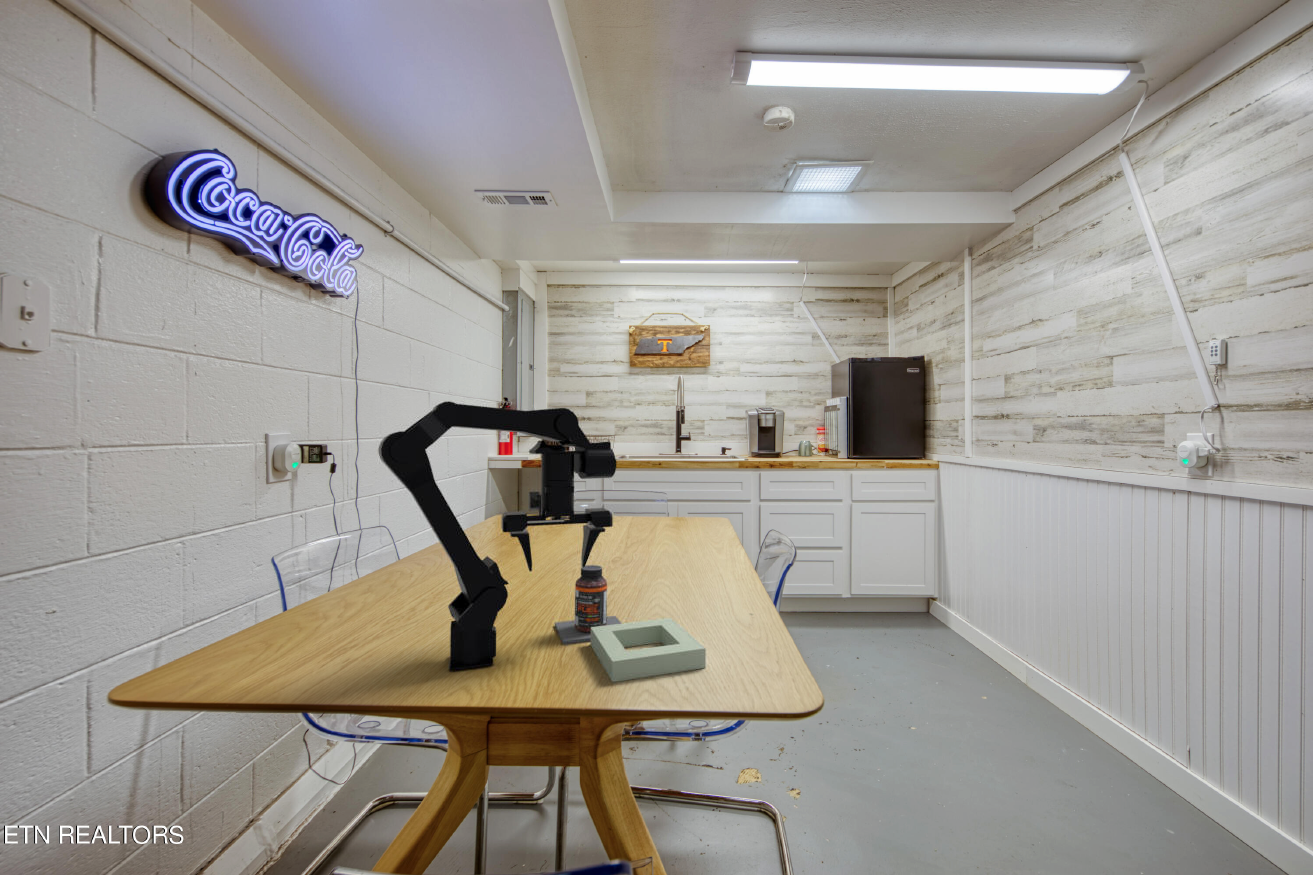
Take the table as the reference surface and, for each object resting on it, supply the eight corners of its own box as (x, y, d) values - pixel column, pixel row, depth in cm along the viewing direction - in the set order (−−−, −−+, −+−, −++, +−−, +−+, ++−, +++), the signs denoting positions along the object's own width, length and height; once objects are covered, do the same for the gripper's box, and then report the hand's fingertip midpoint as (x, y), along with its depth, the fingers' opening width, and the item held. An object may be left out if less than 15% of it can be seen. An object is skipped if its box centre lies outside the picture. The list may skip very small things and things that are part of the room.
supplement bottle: (573, 634, 92) (574, 571, 92) (575, 623, 98) (575, 563, 98) (606, 633, 92) (607, 570, 93) (606, 622, 98) (607, 563, 99)
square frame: (612, 682, 75) (612, 661, 75) (590, 644, 89) (590, 627, 89) (705, 667, 80) (705, 648, 80) (670, 634, 94) (670, 617, 94)
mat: (563, 644, 89) (563, 641, 89) (554, 625, 98) (554, 622, 98) (629, 636, 93) (629, 632, 93) (615, 618, 102) (615, 615, 102)
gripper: (599, 476, 100) (598, 555, 100) (500, 478, 94) (499, 562, 94) (613, 479, 90) (613, 568, 90) (503, 482, 84) (502, 577, 83)
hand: (557, 568), depth 89 cm, fingers open, 9 cm apart
